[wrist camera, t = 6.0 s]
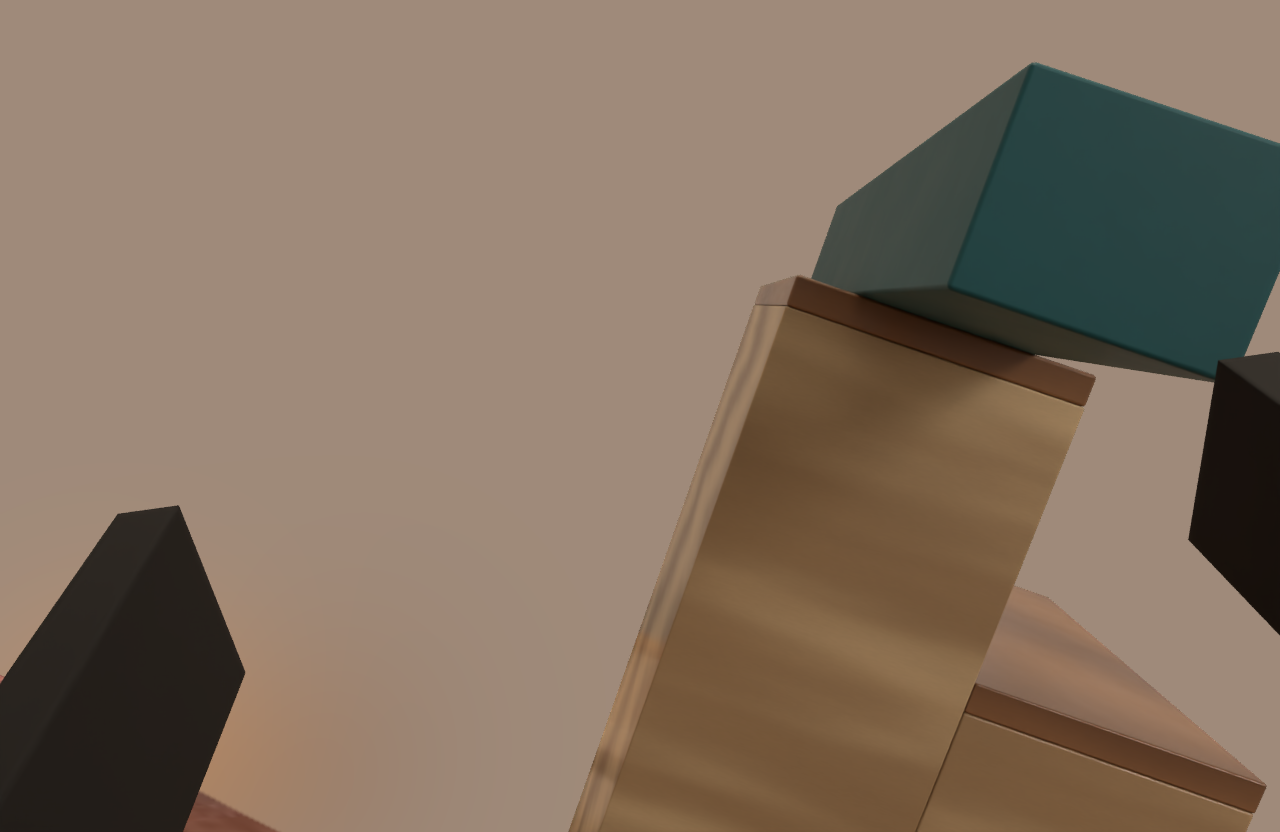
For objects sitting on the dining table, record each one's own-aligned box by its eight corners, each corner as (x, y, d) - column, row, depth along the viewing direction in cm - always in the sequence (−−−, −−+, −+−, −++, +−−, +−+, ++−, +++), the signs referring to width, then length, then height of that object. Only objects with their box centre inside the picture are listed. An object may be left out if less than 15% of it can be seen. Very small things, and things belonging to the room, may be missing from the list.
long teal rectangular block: (1234, 387, 15) (1330, 158, 15) (945, 288, 15) (1031, 59, 15) (921, 337, 37) (956, 245, 36) (804, 297, 37) (837, 204, 37)
